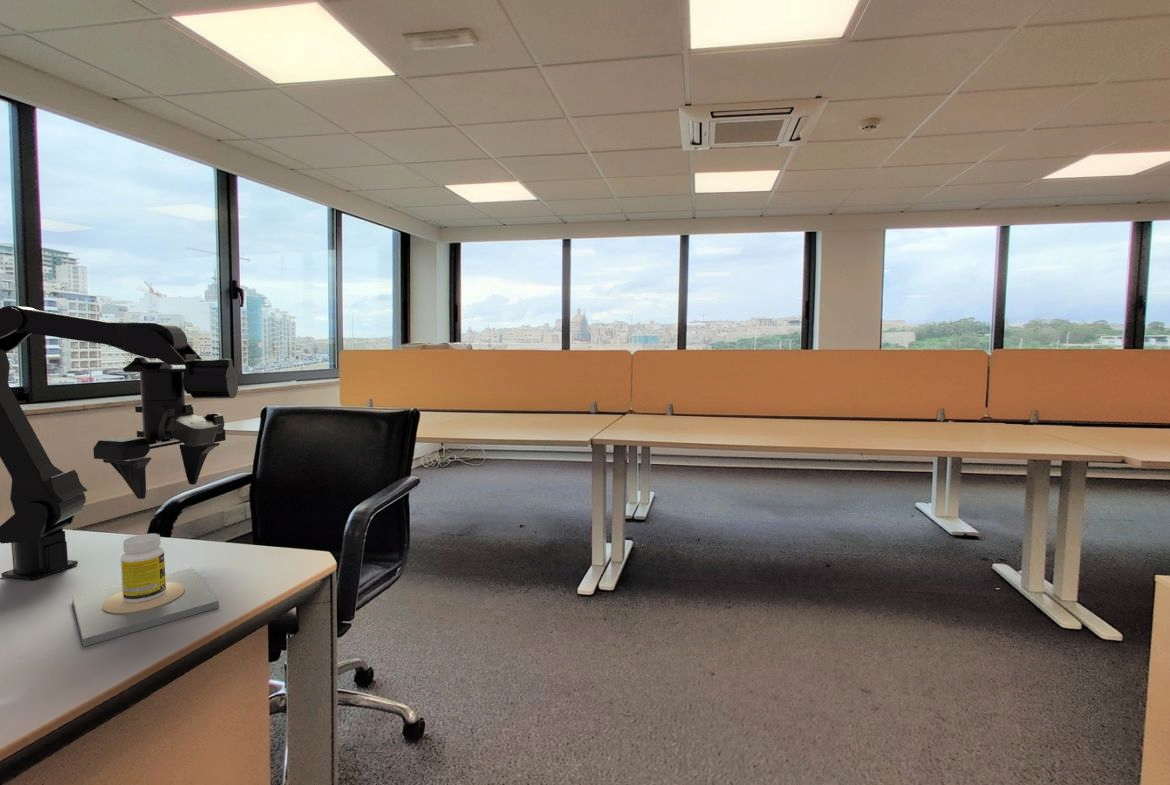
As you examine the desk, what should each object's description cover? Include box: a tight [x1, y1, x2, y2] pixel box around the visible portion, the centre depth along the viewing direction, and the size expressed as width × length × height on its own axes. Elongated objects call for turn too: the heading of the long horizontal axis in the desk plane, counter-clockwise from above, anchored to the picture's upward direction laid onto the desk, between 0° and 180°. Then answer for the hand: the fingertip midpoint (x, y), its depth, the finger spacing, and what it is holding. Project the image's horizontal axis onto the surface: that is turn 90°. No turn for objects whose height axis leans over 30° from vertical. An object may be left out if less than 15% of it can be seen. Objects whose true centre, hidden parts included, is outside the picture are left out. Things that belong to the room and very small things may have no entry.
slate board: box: [72, 567, 220, 648], centre depth 76 cm, size 16×14×1 cm
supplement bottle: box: [120, 533, 166, 603], centre depth 75 cm, size 5×5×8 cm
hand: (168, 491), depth 91 cm, fingers open, 9 cm apart
